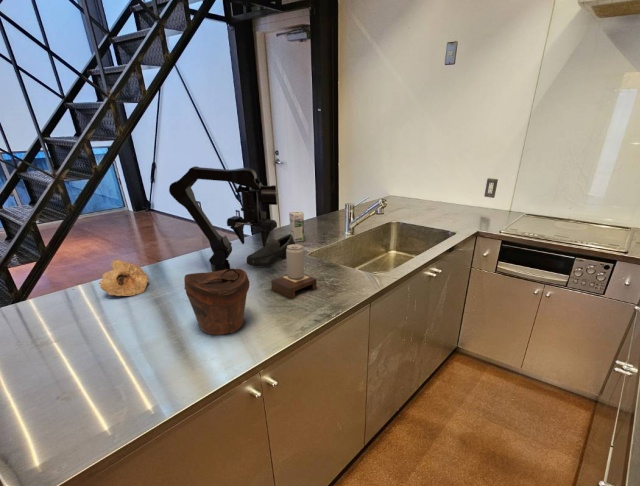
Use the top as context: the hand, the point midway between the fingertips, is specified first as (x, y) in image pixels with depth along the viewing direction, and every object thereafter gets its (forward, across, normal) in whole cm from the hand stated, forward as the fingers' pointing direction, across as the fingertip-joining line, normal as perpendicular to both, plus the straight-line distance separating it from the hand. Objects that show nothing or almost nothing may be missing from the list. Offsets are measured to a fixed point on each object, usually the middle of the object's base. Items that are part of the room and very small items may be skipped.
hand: (253, 245), depth 148 cm
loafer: (+13, +2, -19) cm, 23 cm away
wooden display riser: (+13, -20, +7) cm, 25 cm away
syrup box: (+13, +4, -53) cm, 54 cm away
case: (+13, -10, +40) cm, 43 cm away
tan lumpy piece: (+13, +38, +29) cm, 49 cm away
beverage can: (+9, -20, +5) cm, 22 cm away
